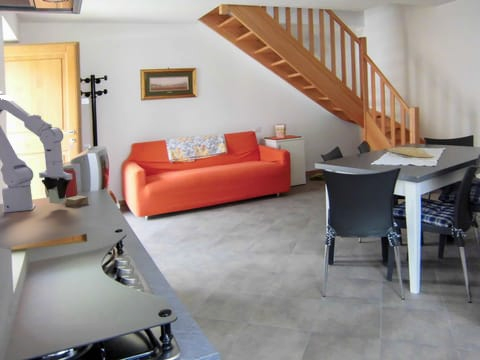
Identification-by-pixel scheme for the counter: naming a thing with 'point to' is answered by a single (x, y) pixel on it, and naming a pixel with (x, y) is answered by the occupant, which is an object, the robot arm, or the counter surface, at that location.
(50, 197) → the sage brick
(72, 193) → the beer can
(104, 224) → the counter surface
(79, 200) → the walnut block
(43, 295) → the counter surface
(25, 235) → the counter surface
